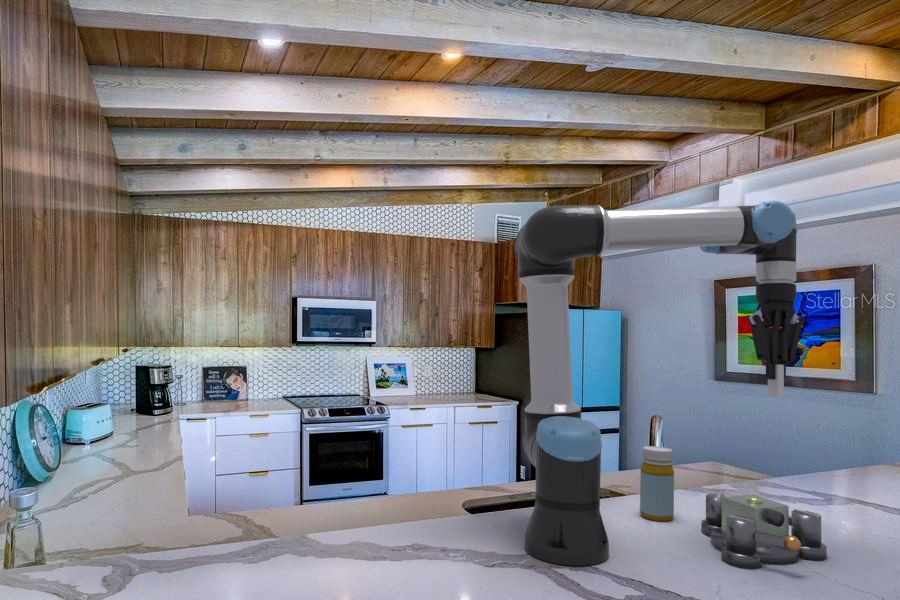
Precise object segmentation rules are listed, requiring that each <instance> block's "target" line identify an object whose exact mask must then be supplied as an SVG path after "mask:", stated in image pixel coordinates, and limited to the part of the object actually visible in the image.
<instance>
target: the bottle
mask: <svg viewBox="0 0 900 600" xmlns="http://www.w3.org/2000/svg"><path fill="white" fill-rule="evenodd" d="M672 460H673V449H672V448H669V447H665V446H658V445H657V446H656V445H646V446H643V448H642V464H641V467H640V483H639V484H640V487H639V489H640V490H639V491H640V493H639V513H640V515H641V516H642V518H644V519H646V520H649V521H652V522H653V521H654V522H660V523H661V522H665V523H666V522H670V521H671V520H673V518H674V512H675V506H674V505H675V502H674V501H675V499H674V498H675V470H674V467H673V461H672Z"/></svg>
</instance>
